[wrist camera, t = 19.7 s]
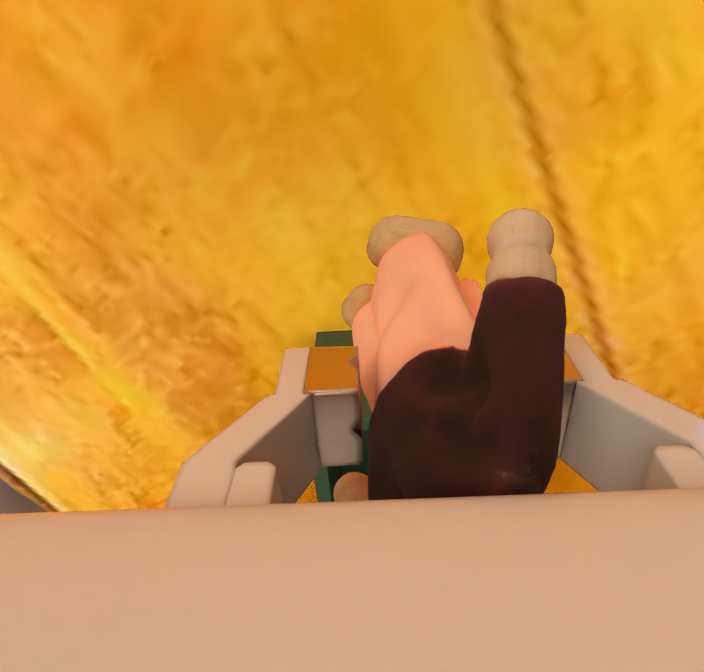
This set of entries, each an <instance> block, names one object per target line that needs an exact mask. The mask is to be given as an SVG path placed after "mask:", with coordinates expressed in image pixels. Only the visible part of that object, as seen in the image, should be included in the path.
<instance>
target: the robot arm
mask: <svg viewBox="0 0 704 672" xmlns="http://www.w3.org/2000/svg"><path fill="white" fill-rule="evenodd" d="M564 359H565V370H564V397H563V409H562V422H561V434H560V443H559V450H558V457H561V460H562V461H563V462H565V463H566V464H567V465H568V466H569V467H571V468H572V469H573V470H574V471H575V472H577V473H578V474H579V475H580V476H581V477H582V478H584V479H585V480H586V481H587V482H588V483H590V484H591V485H592V486H593V487H594V488H596V489H597V490H598V491H599V492H577V493H551V494H525V495H498V496H471V497H445V498H418V499H391V500H364V501H338V502H311V503H296V502H297V500H298V499H299V498H300V496H301V495H302V494H303V492H304V491H305V490H306V488H307V487H308V486H309V484H310V483H311V482H312V480H313V479H314V478H315V476H316V475H317V474H318V472H319V471H320V470H321V467H327V466H342V465H357V464H363V433H362V425H363V420H362V395H361V381H360V362H359V350H358V346H334V347H311V348H309V347H301V348H287V349H286V350H285V351H284V354H283V359H282V363H281V368H280V372H279V377H278V382H277V386H276V391H275V395H268V396H266V397H265V398H264V399H263V400H261V401H260V402H259V403H258V404H256V405H255V406H254V407H253V408H251V409H250V410H249V411H248V412H246V413H245V414H244V415H242V416H241V417H240V418H239V419H237V420H236V421H235V422H234V423H232V424H231V425H230V426H229V427H227V428H226V429H225V430H224V431H222V432H221V433H220V434H219V435H217V436H216V437H215V438H213V439H212V440H211V441H210V442H208V443H207V444H206V445H205V446H203V447H202V448H201V449H200V450H198V451H197V452H196V453H195V454H193V455H192V456H191V457H190V458H188V459H187V460H186V461H184V462H183V463H182V465H181V468H180V470H179V473H178V475H177V478H176V481H175V483H174V486H173V488H172V491H171V493H170V496H169V498H168V501H167V503H166V506H165V508H151V509H124V510H98V511H71V512H45V513H18V514H0V672H704V418H702V417H700V416H698V415H696V414H694V413H692V412H689V411H687V410H685V409H683V408H681V407H679V406H677V405H675V404H673V403H671V402H669V401H666V400H664V399H662V398H660V397H658V396H656V395H654V394H652V393H650V392H648V391H646V390H643V389H641V388H639V387H637V386H635V385H633V384H631V383H629V382H627V381H625V380H623V379H617V380H614V379H613V377H612V376H611V374H610V373H609V372H608V370H607V369H606V368H605V366H604V365H603V364H602V362H601V361H600V359H599V358H598V357H597V355H596V354H595V353H594V351H593V350H592V349H591V347H590V346H589V344H588V343H587V342H586V340H585V339H584V338H583V336H582V335H579V334H567V335H565V348H564Z"/></svg>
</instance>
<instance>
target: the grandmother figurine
mask: <svg viewBox="0 0 704 672" xmlns="http://www.w3.org/2000/svg"><path fill="white" fill-rule="evenodd" d="M553 243H554V233H553V228H552V226H551V224H550V222H549V221H548V219H547V218H546V217H544V216H543V215H542V214H540V213H539V212H537V211H535V210H530V209H525V208H524V209H515V210H511V211H508V212H506V213H505V214H503V215H502V216H501V217H499V218H498V219H497V220H496V221H495V222H494V223H493V225H492V227H491V229H490V231H489V234H488V237H487V248H488V254H489V256H490V258H491V262H490V263H489V265H488V269H487V273H486V287H485V290H484V292H483V294H482V291H481V289H480V287H479V285H478V283H477V282H476V281H475V280H474V279H463V280H460V281H458V278H457V275H456V273H457V271H458V269H459V267H460V265H461V261H462V258H463V252H464V247H463V241H462V238H461V236H460V234H459V233H458V231H457V230H456V229H455V228H454V227H452V226H451V225H449V224H447V223H444V222H440V221H434V220H427V219H418V218H412V217H406V216H389V217H386V218H384V219H382V220H380V221H379V222H378V223H377V224H376V225H375V226H374V228H373V229H372V231H371V234H370V237H369V240H368V244H367V253H368V257H369V259H370V260H371V262H372V263H373V264H374V265H375V266H377V267H378V269H377V273H376V278H375V283H374V284H365V285H361V286H358V287H356V288H355V289H354V290H352V291H351V292H350V294H349V295H348V296H347V298H346V299H345V301H344V302H343V305H342V316H343V319H344V320H345V322H346V323H347V324H348V325H349V326H350V327H351V328H352V336H353V345H354V346H358V350H359V362H360V381H361V388H362V390H363V392H364V394H365V396H366V398H367V400H368V403H369V405H370V408H371V411H372V415H371V418H370V422H369V427H368V476H367V475H365V474H362V473H359V472H350V473H347V474H345V475H343V476H342V477H341V478H340V479H339V480H338V481H337V483H336V484H335V488H334V495H333V496H334V501H335V502H338V501H364V500H391V499H418V498H445V497H471V496H498V495H525V494H544V491H545V489H546V487H547V485H548V483H549V481H550V478H551V475H552V473H553V471H554V469H555V467H556V461H557V457H558V450H559V443H560V434H561V422H562V409H563V397H564V370H565V359H564V348H565V329H566V307H565V296H564V293H563V290H562V288H561V287H560V286H558V285H557V274H556V266H555V263H554V261H553V259H552V257H551V256H550V255H551V252H552V248H553Z"/></svg>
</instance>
